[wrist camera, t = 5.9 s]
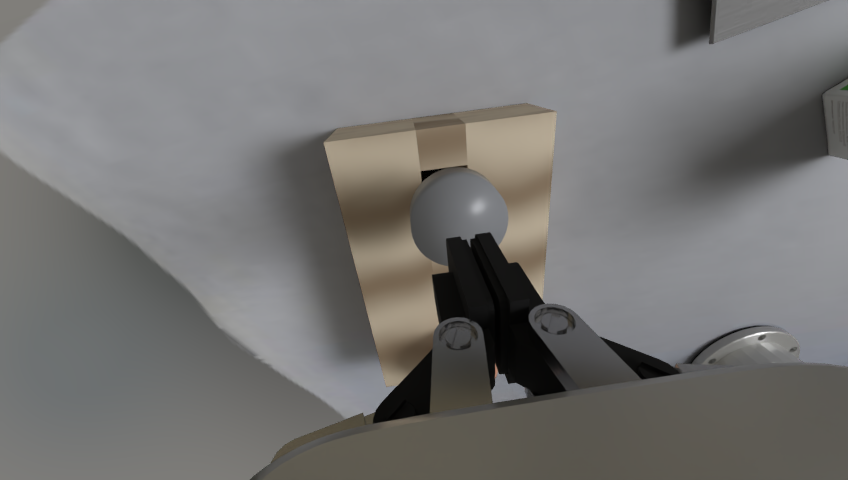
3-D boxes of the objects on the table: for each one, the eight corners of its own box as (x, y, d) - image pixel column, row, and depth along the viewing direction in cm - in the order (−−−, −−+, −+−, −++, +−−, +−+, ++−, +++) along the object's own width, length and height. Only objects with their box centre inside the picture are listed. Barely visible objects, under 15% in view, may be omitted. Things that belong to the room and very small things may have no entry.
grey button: (480, 213, 23) (507, 259, 18) (412, 222, 23) (417, 272, 18) (478, 142, 21) (508, 170, 15) (402, 153, 21) (404, 185, 15)
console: (519, 327, 34) (537, 365, 30) (387, 345, 34) (386, 386, 30) (527, 103, 24) (556, 111, 19) (337, 128, 24) (323, 142, 19)
